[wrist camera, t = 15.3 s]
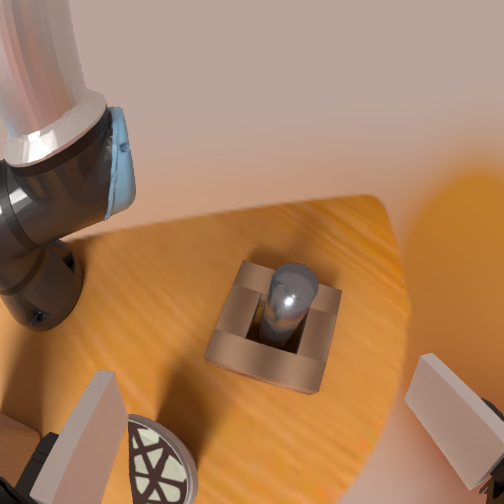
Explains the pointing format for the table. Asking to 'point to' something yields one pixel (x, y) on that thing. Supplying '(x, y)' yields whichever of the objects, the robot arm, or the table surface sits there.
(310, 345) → the square block with hole
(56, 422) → the table surface
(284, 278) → the peg
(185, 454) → the food container
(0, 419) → the wooden block
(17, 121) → the robot arm
